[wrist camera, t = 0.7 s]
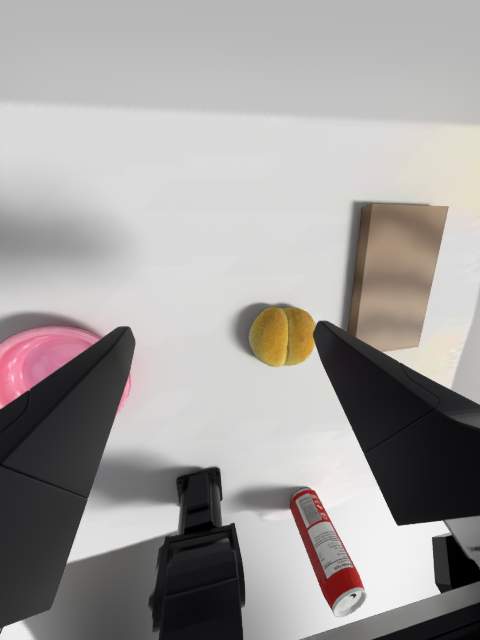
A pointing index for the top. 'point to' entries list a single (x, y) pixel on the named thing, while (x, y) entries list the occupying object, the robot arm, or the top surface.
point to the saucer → (41, 358)
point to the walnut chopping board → (395, 273)
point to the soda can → (327, 554)
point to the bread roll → (282, 336)
